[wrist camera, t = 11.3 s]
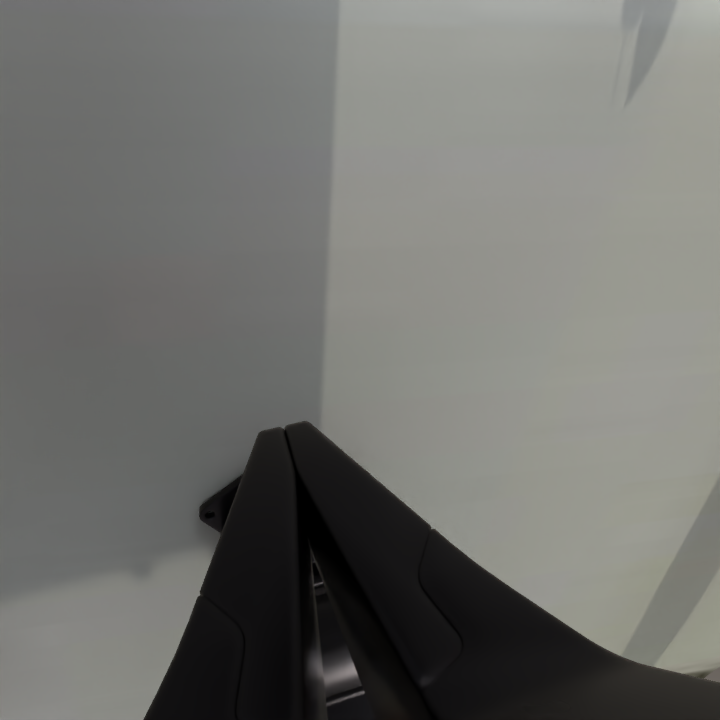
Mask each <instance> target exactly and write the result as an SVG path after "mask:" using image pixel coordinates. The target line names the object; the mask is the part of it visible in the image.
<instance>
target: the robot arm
mask: <svg viewBox="0 0 720 720" xmlns="http://www.w3.org/2000/svg"><path fill="white" fill-rule="evenodd" d="M209 511H212V512H211V513H207V512H209ZM199 517H200V519H201V520H202V521H203V522H205V523H206V524H208V525H209V526H211V527H212V528H214V529H216V530H217V531H219V532H220V533H221V536H220V538H219V541H218V544H217V547H216V549H215V552H214V555H213V557H212V560H211V563H210V566H209V568H208V571H207V574H206V576H205V579H204V582H203V584H202V587H201V590H200V596H198V598H197V600H196V603H195V605H194V608H193V611H192V614H191V616H190V619H189V622H188V624H187V626H186V629H185V631H184V634H183V636H182V639H181V641H180V644H179V646H178V649H177V651H176V653H175V656H174V658H173V660H172V662H171V664H170V666H169V668H168V671H167V673H166V675H165V677H164V679H163V681H162V683H161V685H160V687H159V689H158V692H157V694H156V696H155V698H154V700H153V702H152V704H151V706H150V708H149V710H148V712H147V714H146V716H145V718H144V719H143V720H720V683H719V682H715V681H711V680H707V679H702V678H698V677H694V676H690V675H685V674H681V673H677V672H673V671H668V670H664V669H660V668H656V667H651V666H647V665H644V664H640V663H637V662H634V661H631V660H629V659H626V658H623V657H621V656H619V655H617V654H614V653H612V652H610V651H608V650H606V649H604V648H603V647H601V646H599V645H597V644H595V643H594V642H592V641H590V640H589V639H587V638H586V637H584V636H582V635H581V634H579V633H578V632H576V631H575V630H573V629H572V628H571V627H569V626H568V625H566V624H565V623H563V622H562V621H560V620H559V619H557V618H556V617H554V616H553V615H551V614H550V613H548V612H547V611H545V610H544V609H542V608H541V607H539V606H538V605H536V604H535V603H533V602H532V601H530V600H529V599H527V598H526V597H524V596H523V595H521V594H520V593H518V592H517V591H515V590H514V589H512V588H511V587H509V586H508V585H506V584H505V583H504V582H502V581H501V580H499V579H498V578H496V577H495V576H494V575H492V574H491V573H489V572H488V571H486V570H485V569H484V568H482V567H481V566H479V565H478V564H477V563H475V562H474V561H473V560H472V559H470V558H469V557H468V556H467V555H465V554H464V553H463V552H462V551H460V550H459V549H458V548H457V547H455V546H454V545H453V544H452V543H450V542H449V541H448V540H447V539H446V538H445V537H443V536H442V535H441V534H440V533H439V532H438V531H436V530H435V529H432V530H431V526H430V525H429V524H428V523H427V522H426V521H424V520H423V519H422V518H421V517H420V516H419V515H417V514H416V513H415V512H414V511H413V510H411V509H410V508H409V507H408V506H407V505H406V504H404V503H403V502H402V501H401V500H400V499H399V498H397V497H396V496H395V495H394V494H393V493H392V492H390V491H389V490H388V489H387V488H386V487H385V486H383V485H382V484H381V483H380V482H379V481H377V480H376V479H375V478H374V477H373V476H372V475H370V474H369V473H368V472H367V471H366V470H365V469H363V468H362V467H361V466H360V465H359V464H358V463H356V462H355V461H354V460H353V459H352V458H350V457H349V456H348V455H347V454H346V453H345V452H343V451H342V450H341V449H340V448H339V447H338V446H336V445H335V444H334V443H333V442H332V441H331V440H329V439H328V438H327V437H326V436H325V435H324V434H322V433H321V432H320V431H319V430H318V429H316V428H315V427H314V426H313V425H312V424H311V423H309V422H307V421H303V422H298V423H294V424H290V425H287V426H286V427H285V428H284V429H283V428H281V427H277V428H273V429H268V430H264V431H261V432H260V433H259V434H258V436H257V438H256V441H255V444H254V447H253V449H252V452H251V455H250V457H249V460H248V463H247V465H246V468H245V471H244V474H243V475H242V476H240V477H239V478H237V479H236V480H235V481H233V482H232V483H231V484H229V485H228V486H227V487H225V488H224V489H223V490H221V491H220V492H219V493H217V494H216V495H214V496H213V497H212V498H210V499H209V500H208V501H206V502H205V503H204V504H202V505H201V506H200V509H199Z"/></svg>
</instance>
